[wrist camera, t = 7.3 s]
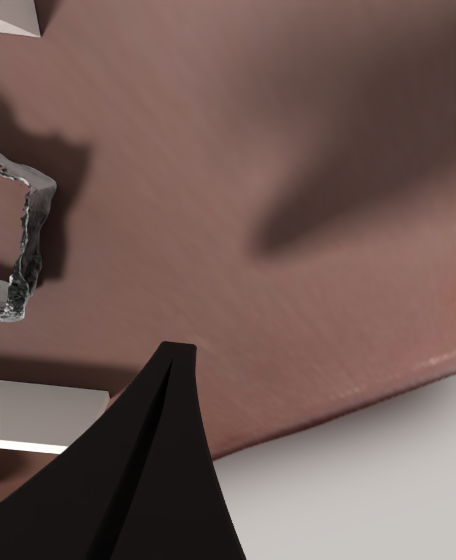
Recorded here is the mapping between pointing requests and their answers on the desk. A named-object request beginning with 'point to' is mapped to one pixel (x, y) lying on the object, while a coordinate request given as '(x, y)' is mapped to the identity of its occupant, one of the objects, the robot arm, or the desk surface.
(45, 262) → the desk surface
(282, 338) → the desk surface
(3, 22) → the box
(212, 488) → the robot arm
